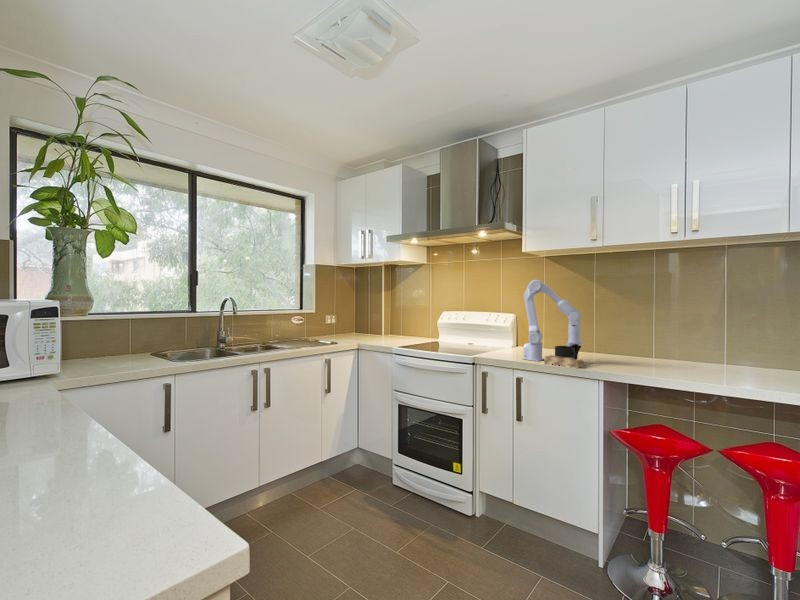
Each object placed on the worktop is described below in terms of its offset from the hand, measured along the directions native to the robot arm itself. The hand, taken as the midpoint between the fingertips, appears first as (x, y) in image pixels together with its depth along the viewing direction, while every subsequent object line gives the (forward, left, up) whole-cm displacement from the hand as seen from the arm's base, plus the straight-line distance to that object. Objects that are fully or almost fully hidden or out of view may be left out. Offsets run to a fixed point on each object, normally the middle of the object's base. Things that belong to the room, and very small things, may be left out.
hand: (574, 358), depth 212 cm
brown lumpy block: (0, -12, -2) cm, 12 cm away
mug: (0, -9, -2) cm, 10 cm away
